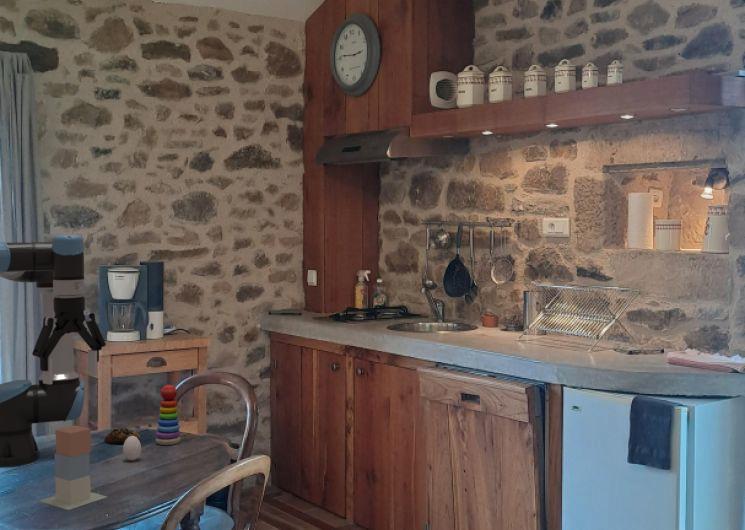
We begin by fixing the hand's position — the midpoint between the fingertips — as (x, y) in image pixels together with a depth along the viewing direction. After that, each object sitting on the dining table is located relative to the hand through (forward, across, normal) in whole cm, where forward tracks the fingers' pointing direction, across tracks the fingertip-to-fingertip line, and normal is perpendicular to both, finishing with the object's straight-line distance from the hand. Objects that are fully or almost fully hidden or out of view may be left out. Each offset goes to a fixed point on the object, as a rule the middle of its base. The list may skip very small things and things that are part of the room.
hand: (70, 379), depth 222 cm
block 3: (+31, 0, 0) cm, 31 cm away
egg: (+32, +34, +17) cm, 50 cm away
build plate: (+32, 0, 0) cm, 32 cm away
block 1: (+19, 0, 0) cm, 19 cm away
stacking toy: (+32, +54, +23) cm, 67 cm away
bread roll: (+32, +48, +37) cm, 68 cm away
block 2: (+25, 0, 0) cm, 25 cm away
